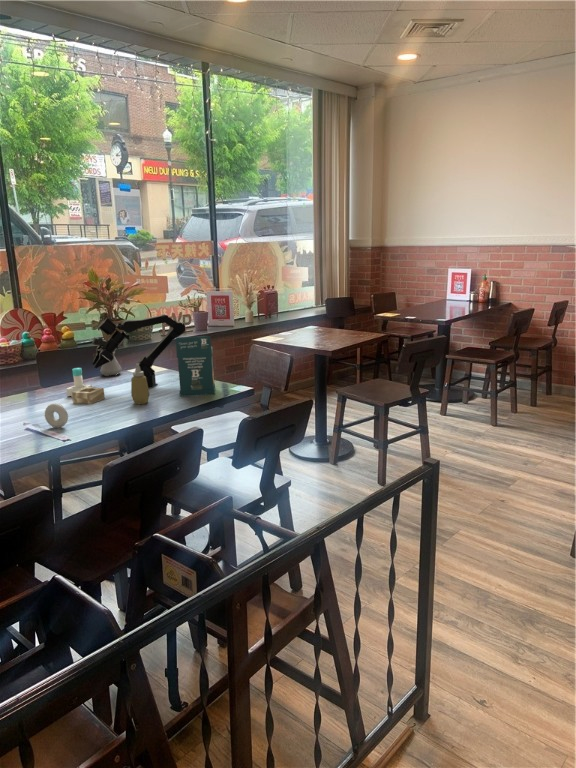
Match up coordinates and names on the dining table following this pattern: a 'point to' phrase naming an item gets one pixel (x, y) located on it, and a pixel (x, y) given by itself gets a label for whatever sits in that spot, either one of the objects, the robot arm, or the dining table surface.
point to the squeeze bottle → (139, 387)
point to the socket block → (88, 395)
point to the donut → (61, 412)
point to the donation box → (195, 365)
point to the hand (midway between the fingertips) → (93, 366)
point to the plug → (78, 378)
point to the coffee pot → (111, 367)
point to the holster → (74, 389)
